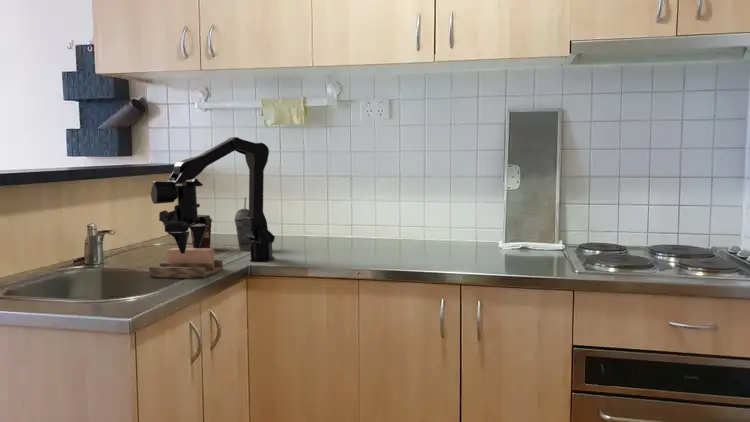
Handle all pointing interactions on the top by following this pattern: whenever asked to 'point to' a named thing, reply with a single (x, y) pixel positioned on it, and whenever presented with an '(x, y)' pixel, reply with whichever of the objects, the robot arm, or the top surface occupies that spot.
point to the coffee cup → (204, 238)
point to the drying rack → (185, 269)
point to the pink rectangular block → (191, 255)
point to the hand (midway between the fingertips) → (190, 250)
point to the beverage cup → (242, 237)
